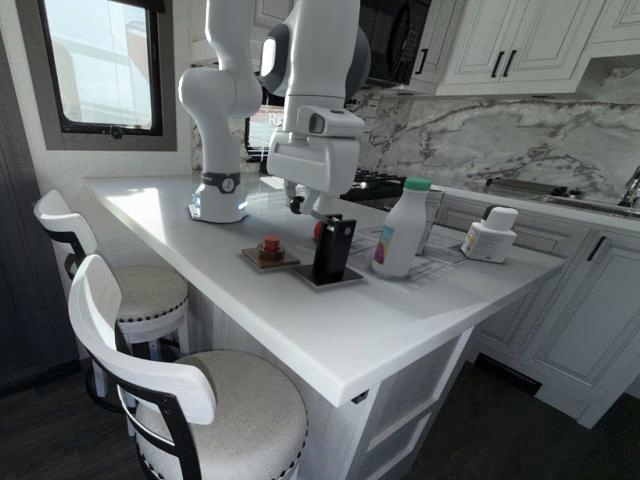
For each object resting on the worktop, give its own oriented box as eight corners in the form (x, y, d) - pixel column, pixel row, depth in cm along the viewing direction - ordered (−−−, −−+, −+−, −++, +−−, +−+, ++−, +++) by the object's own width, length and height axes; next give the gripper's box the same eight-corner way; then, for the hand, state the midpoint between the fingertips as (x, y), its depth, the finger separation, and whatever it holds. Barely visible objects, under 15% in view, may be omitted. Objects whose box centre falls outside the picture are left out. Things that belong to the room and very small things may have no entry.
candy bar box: (392, 239, 90) (411, 180, 81) (410, 241, 89) (431, 182, 81) (402, 253, 80) (424, 188, 72) (422, 255, 80) (447, 190, 71)
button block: (241, 255, 73) (241, 241, 71) (277, 251, 77) (278, 238, 75) (260, 273, 65) (261, 258, 64) (299, 267, 69) (301, 252, 67)
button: (260, 246, 70) (261, 236, 69) (273, 245, 72) (274, 234, 70) (267, 252, 68) (268, 241, 66) (281, 250, 69) (283, 239, 68)
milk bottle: (409, 272, 70) (443, 180, 60) (403, 284, 64) (440, 184, 54) (374, 263, 74) (401, 174, 63) (366, 273, 68) (394, 178, 58)
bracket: (316, 290, 60) (329, 226, 53) (291, 271, 67) (300, 213, 60) (362, 281, 64) (380, 222, 58) (335, 264, 71) (347, 209, 65)
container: (460, 248, 86) (481, 201, 79) (491, 253, 84) (516, 205, 77) (467, 258, 80) (491, 208, 73) (502, 263, 78) (529, 212, 71)
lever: (292, 212, 52) (302, 195, 51) (283, 208, 55) (291, 191, 54) (343, 239, 60) (351, 224, 59) (332, 233, 63) (340, 219, 62)
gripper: (262, 117, 54) (256, 198, 61) (337, 121, 38) (317, 228, 45) (292, 119, 57) (283, 196, 64) (375, 123, 41) (350, 225, 48)
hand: (298, 210), depth 54 cm, fingers closed on lever, 3 cm apart
